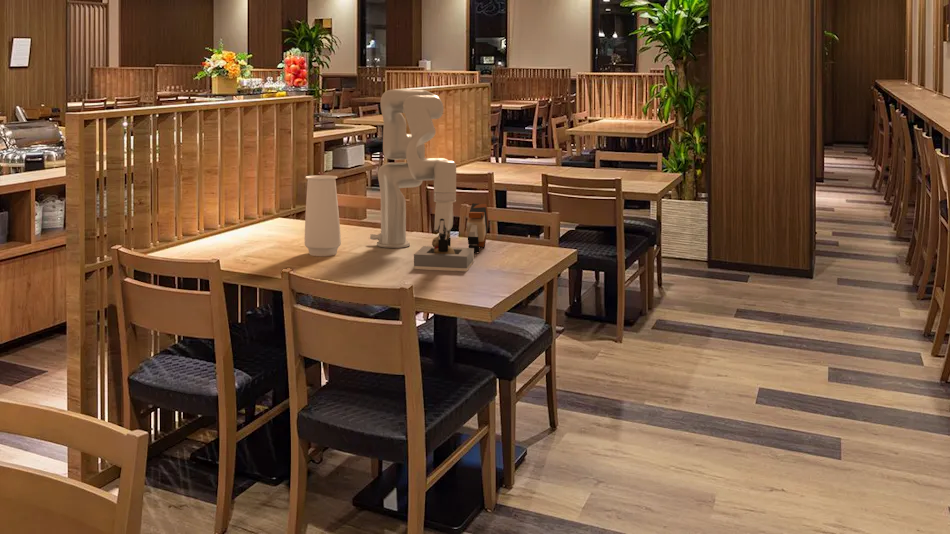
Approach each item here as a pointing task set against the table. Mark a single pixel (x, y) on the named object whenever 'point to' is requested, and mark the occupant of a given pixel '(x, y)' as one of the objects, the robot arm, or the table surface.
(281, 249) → the table surface
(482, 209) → the toy
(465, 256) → the well
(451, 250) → the chocolate bunny
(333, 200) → the vase
